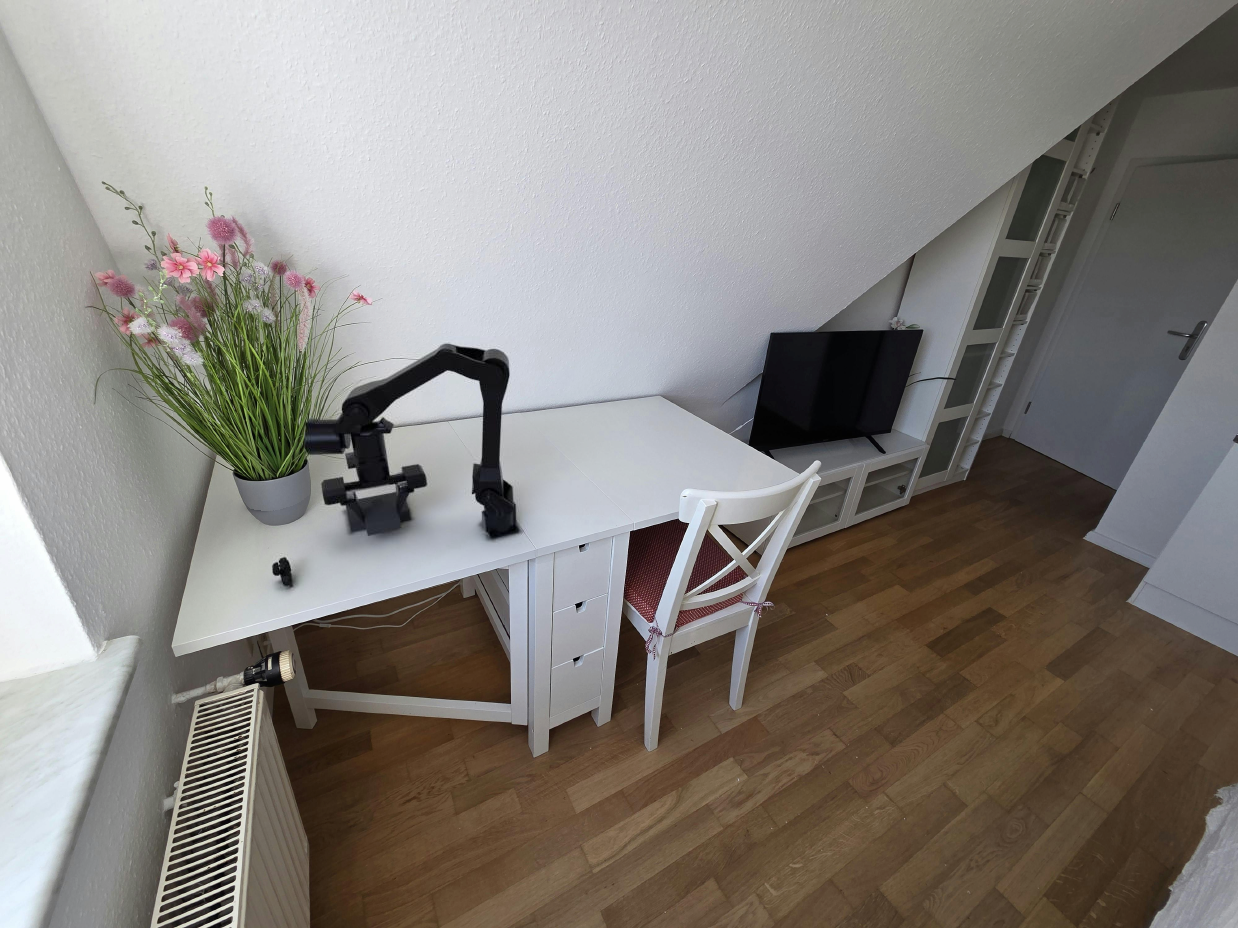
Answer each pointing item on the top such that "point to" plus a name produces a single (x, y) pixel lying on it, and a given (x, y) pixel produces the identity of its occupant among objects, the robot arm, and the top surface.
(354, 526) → the notch pad
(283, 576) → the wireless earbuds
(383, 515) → the tab pad
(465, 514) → the top surface
